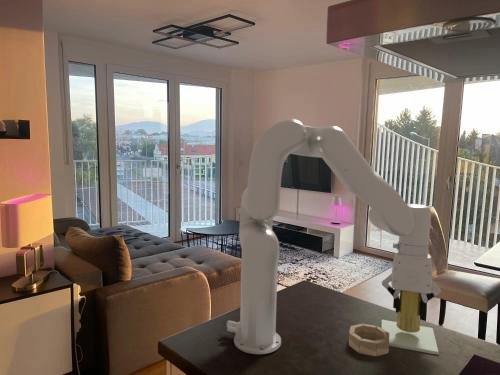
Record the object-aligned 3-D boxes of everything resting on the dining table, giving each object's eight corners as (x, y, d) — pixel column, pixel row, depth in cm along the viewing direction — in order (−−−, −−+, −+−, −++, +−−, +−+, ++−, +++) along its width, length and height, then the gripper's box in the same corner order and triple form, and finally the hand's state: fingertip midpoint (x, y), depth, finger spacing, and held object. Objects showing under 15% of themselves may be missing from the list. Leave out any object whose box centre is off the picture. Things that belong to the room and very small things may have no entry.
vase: (415, 323, 107) (418, 275, 106) (423, 333, 101) (426, 282, 100) (393, 322, 108) (396, 274, 106) (400, 332, 102) (403, 281, 100)
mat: (380, 344, 101) (380, 341, 101) (381, 322, 114) (381, 319, 114) (438, 354, 96) (438, 351, 96) (432, 330, 109) (432, 328, 109)
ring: (347, 350, 97) (348, 337, 97) (351, 333, 106) (351, 321, 106) (388, 359, 93) (389, 345, 93) (388, 340, 103) (389, 328, 102)
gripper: (379, 249, 102) (375, 312, 104) (450, 256, 96) (445, 324, 98) (380, 242, 109) (376, 302, 111) (446, 249, 103) (441, 312, 105)
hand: (408, 312), depth 104 cm, fingers closed on vase, 5 cm apart
